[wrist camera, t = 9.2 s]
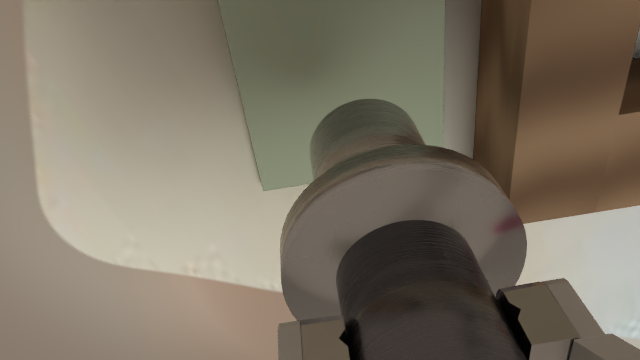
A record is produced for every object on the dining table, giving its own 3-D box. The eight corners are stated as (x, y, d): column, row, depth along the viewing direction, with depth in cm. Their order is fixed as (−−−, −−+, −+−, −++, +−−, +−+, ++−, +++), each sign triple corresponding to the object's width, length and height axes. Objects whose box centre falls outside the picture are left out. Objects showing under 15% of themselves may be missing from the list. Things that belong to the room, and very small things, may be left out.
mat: (203, -70, 21) (201, -66, 20) (440, -107, 21) (446, -105, 20) (263, 182, 29) (263, 191, 28) (438, 154, 29) (442, 162, 28)
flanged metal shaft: (260, 81, 17) (256, 364, 8) (452, 50, 17) (669, 297, 8) (291, 229, 20) (313, 538, 11) (449, 204, 20) (595, 492, 11)
